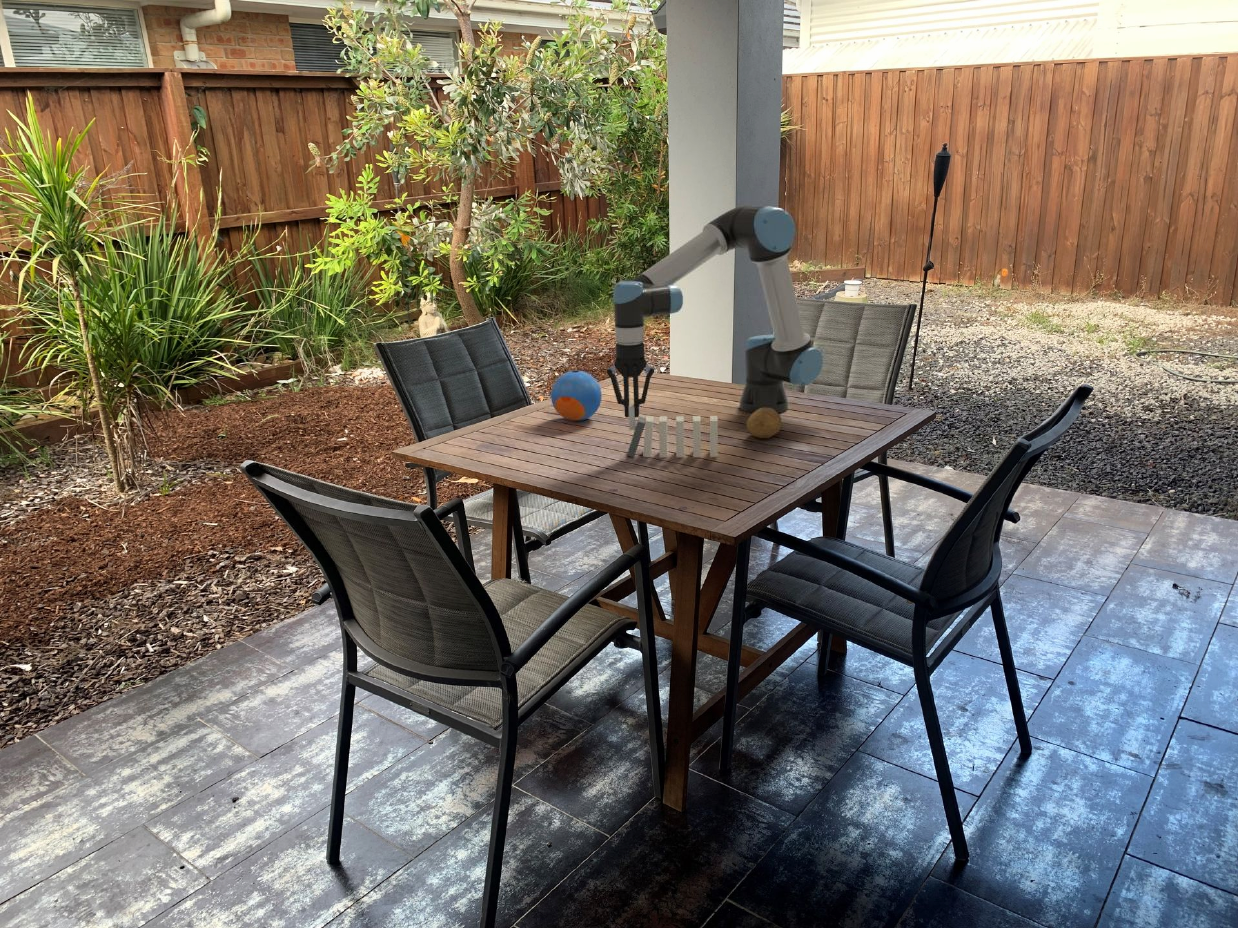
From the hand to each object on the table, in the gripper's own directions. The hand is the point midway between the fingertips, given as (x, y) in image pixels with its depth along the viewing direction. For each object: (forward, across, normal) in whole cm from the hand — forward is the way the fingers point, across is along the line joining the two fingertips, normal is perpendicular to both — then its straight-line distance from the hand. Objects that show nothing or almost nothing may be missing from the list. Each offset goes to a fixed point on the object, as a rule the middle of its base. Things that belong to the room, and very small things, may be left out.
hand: (632, 428), depth 245 cm
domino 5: (+7, -17, 0) cm, 19 cm away
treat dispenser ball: (+8, +20, -35) cm, 41 cm away
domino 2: (+7, -4, 0) cm, 8 cm away
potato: (+8, -36, -16) cm, 40 cm away
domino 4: (+7, -13, 0) cm, 15 cm away
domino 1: (+7, 0, 0) cm, 7 cm away
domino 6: (+7, -22, 0) cm, 23 cm away
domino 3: (+7, -8, 0) cm, 11 cm away
